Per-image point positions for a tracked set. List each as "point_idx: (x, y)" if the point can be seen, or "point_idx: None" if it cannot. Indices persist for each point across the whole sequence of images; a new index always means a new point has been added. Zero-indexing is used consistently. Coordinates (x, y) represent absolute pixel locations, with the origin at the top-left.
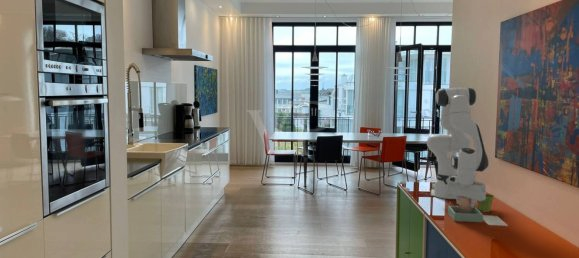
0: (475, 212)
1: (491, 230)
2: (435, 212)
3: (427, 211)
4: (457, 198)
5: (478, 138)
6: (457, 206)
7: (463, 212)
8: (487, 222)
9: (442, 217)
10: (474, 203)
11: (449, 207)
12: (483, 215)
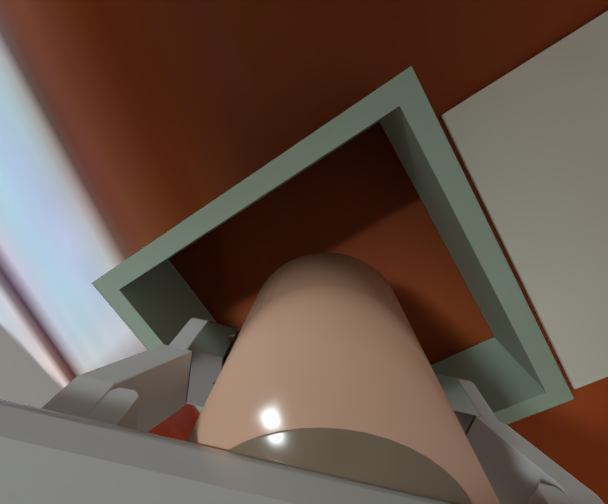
0: (421, 180)
1: (601, 493)
2: (67, 311)
3: (7, 325)
4: (146, 413)
5: None
6: (191, 238)
7: (276, 188)
8: (561, 335)
9: (185, 407)
10: (513, 442)
11: (145, 345)
12: (495, 93)
